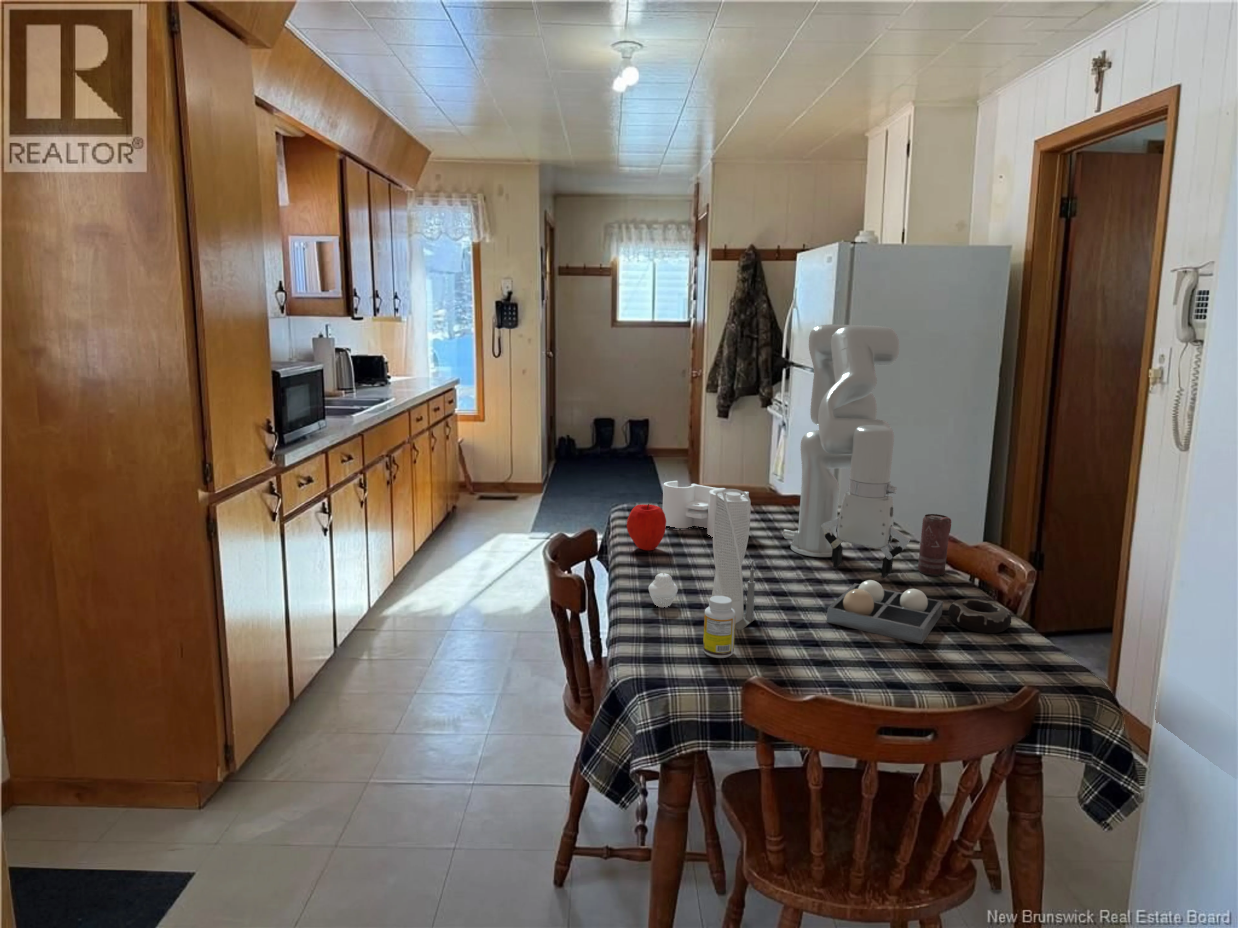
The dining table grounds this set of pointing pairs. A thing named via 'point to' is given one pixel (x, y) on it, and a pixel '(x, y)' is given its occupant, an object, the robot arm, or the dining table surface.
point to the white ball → (914, 600)
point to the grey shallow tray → (888, 617)
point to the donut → (979, 616)
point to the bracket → (690, 505)
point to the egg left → (873, 589)
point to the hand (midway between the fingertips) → (860, 570)
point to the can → (934, 544)
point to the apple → (646, 526)
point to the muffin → (663, 590)
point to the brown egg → (858, 602)
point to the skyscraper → (732, 552)
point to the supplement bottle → (719, 627)
